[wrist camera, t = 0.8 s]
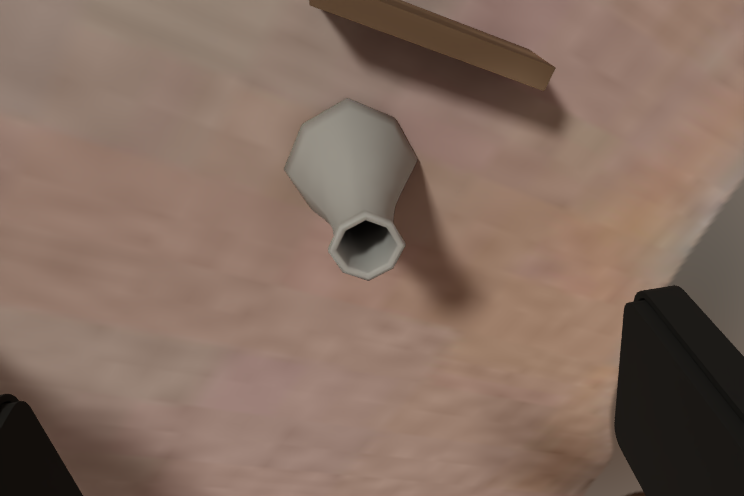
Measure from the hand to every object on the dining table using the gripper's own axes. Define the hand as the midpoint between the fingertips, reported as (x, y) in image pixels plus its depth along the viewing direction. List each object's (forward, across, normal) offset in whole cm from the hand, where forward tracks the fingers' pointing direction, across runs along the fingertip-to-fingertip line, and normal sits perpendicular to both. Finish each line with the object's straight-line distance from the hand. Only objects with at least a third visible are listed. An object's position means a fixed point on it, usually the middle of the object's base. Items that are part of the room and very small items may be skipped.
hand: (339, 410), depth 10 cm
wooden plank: (+26, -5, 0) cm, 27 cm away
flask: (+26, 0, +7) cm, 27 cm away
